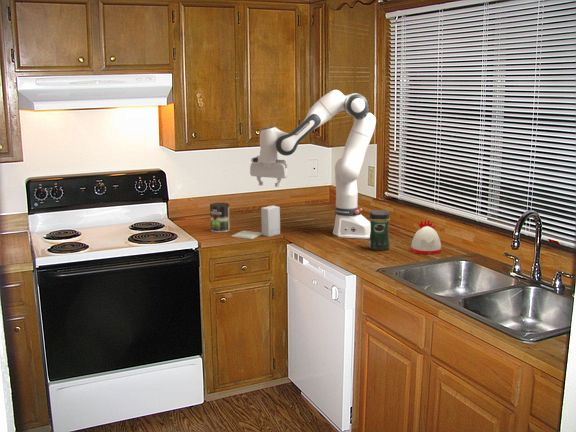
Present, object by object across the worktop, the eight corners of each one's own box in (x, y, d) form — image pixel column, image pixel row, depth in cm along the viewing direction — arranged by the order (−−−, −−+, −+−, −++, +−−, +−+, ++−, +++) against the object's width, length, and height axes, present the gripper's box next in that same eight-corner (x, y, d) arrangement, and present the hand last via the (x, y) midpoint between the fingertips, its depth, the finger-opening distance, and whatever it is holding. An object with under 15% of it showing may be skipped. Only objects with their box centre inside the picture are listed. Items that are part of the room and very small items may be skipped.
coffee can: (223, 233, 342) (222, 206, 339) (207, 231, 347) (206, 205, 344) (233, 229, 351) (232, 203, 348) (217, 227, 356) (216, 201, 353)
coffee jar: (389, 246, 313) (390, 208, 309) (389, 251, 305) (390, 212, 301) (369, 246, 314) (369, 208, 310) (368, 250, 307) (369, 211, 303)
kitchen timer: (409, 246, 313) (410, 215, 310) (439, 246, 312) (440, 216, 308) (412, 254, 300) (413, 222, 296) (442, 254, 298) (444, 222, 295)
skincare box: (273, 232, 343) (273, 204, 339) (280, 234, 338) (280, 206, 335) (261, 235, 337) (260, 207, 334) (268, 237, 333) (267, 208, 330)
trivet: (263, 234, 340) (263, 232, 340) (251, 239, 329) (251, 237, 329) (243, 231, 345) (243, 230, 345) (231, 236, 335) (231, 235, 334)
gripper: (289, 159, 328) (290, 186, 331) (254, 157, 337) (254, 183, 340) (284, 160, 322) (284, 188, 325) (248, 158, 331) (248, 185, 334)
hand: (269, 185), depth 333 cm, fingers open, 8 cm apart
